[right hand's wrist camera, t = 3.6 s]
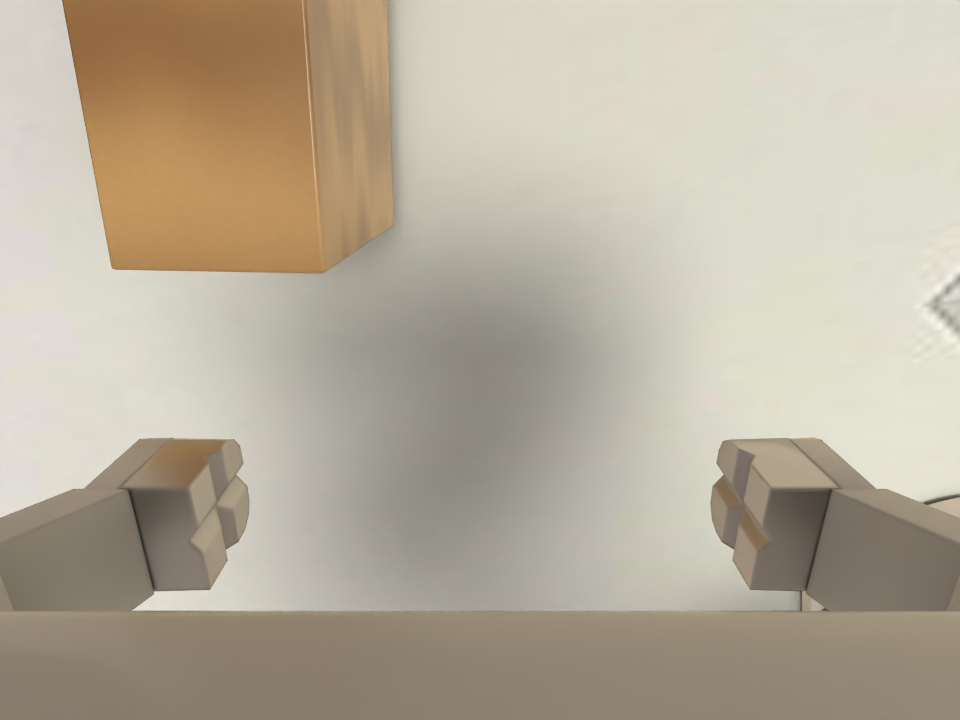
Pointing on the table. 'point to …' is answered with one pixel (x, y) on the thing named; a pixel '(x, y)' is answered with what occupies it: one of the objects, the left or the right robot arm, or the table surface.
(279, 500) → the table surface
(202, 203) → the box
